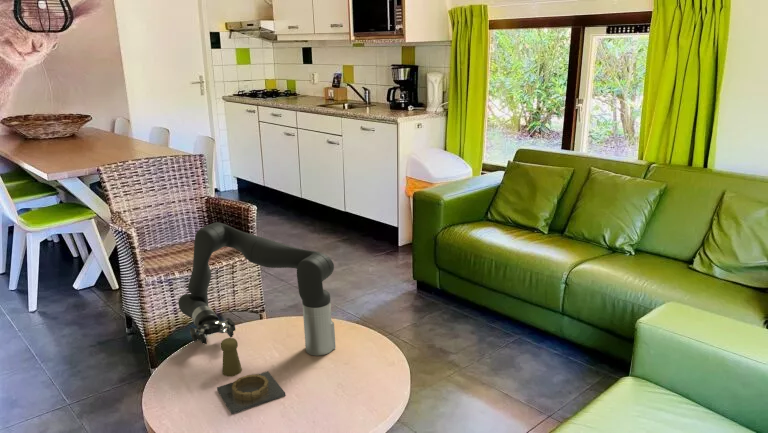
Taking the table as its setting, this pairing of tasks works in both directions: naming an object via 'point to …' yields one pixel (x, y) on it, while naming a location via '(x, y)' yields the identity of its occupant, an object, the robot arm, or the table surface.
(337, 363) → the table surface
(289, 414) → the table surface
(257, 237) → the robot arm
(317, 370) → the table surface
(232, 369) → the cork
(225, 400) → the collar plate
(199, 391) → the table surface
